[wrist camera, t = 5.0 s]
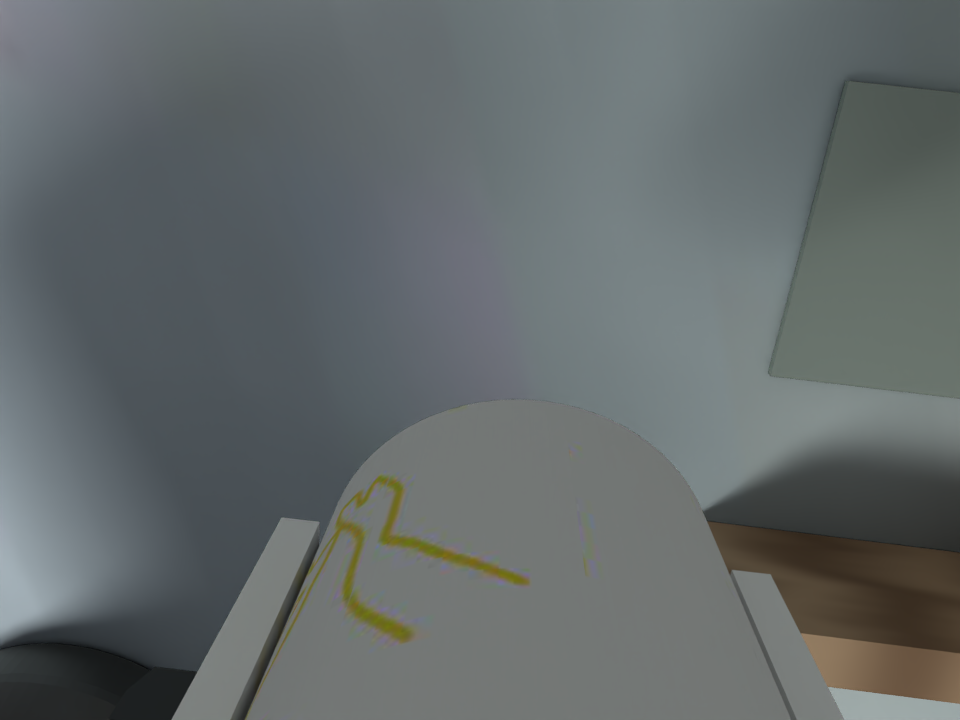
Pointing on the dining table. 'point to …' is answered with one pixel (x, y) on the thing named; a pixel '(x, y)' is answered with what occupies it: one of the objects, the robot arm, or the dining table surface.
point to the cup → (518, 584)
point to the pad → (881, 249)
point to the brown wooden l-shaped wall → (862, 606)
